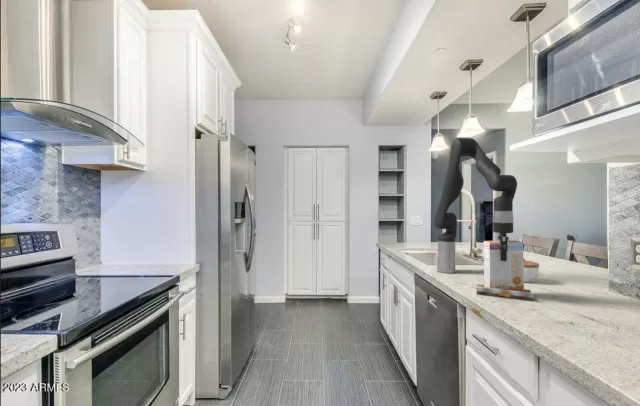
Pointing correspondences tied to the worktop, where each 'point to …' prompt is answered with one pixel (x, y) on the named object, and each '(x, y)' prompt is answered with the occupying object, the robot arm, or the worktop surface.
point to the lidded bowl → (530, 270)
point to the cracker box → (503, 266)
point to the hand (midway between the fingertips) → (503, 259)
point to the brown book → (505, 293)
